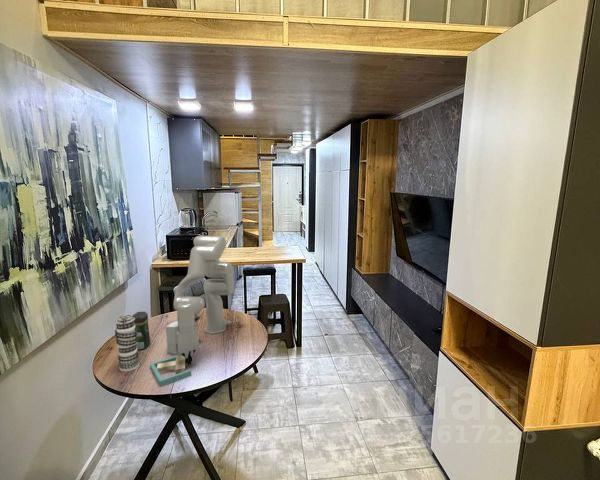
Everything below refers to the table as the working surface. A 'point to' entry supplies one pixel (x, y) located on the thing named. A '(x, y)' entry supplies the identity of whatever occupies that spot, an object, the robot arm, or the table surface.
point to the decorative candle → (127, 343)
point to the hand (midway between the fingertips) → (188, 363)
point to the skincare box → (171, 337)
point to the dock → (172, 378)
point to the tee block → (172, 366)
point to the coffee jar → (142, 330)
